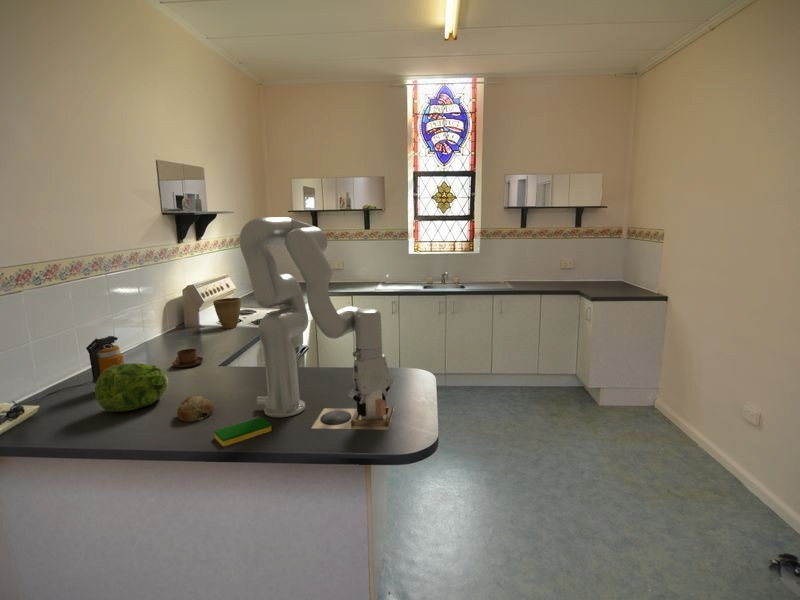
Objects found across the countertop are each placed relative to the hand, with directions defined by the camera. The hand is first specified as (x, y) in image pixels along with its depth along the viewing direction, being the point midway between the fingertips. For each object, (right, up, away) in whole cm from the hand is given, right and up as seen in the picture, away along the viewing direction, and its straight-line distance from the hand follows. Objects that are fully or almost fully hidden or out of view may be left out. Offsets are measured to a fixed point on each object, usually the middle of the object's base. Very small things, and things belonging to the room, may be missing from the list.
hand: (371, 411), depth 138 cm
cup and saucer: (-82, +4, +64) cm, 104 cm away
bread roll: (-56, -4, +10) cm, 57 cm away
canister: (-98, -1, +35) cm, 104 cm away
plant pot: (-89, +17, +133) cm, 161 cm away
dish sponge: (-36, -6, -4) cm, 37 cm away
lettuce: (-79, -3, +19) cm, 81 cm away
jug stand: (-5, -3, +1) cm, 6 cm away
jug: (+1, -2, -1) cm, 2 cm away
